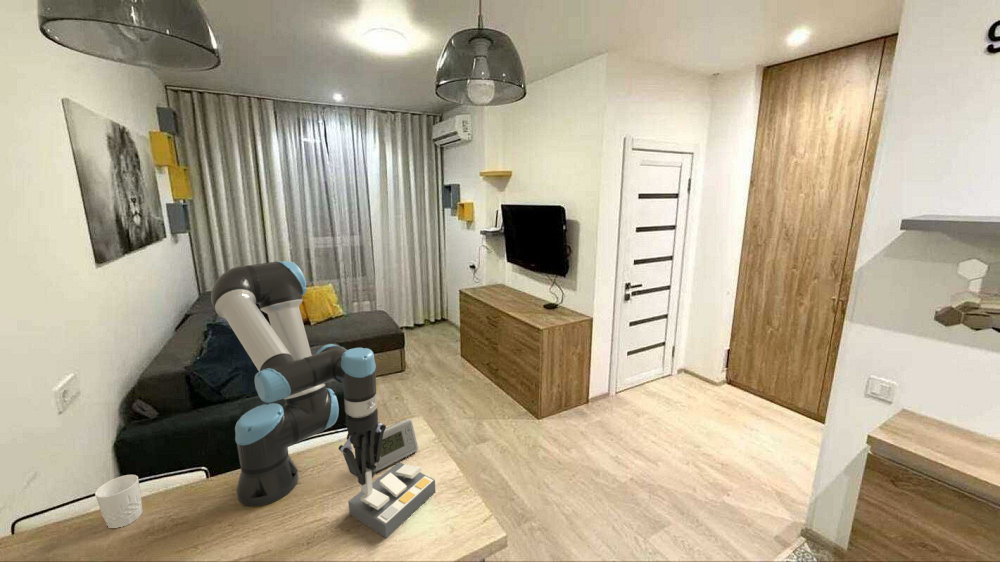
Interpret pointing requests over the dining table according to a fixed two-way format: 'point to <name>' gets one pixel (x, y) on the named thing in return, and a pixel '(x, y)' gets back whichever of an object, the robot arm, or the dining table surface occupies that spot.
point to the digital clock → (397, 443)
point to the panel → (393, 503)
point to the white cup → (120, 501)
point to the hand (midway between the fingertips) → (366, 491)
